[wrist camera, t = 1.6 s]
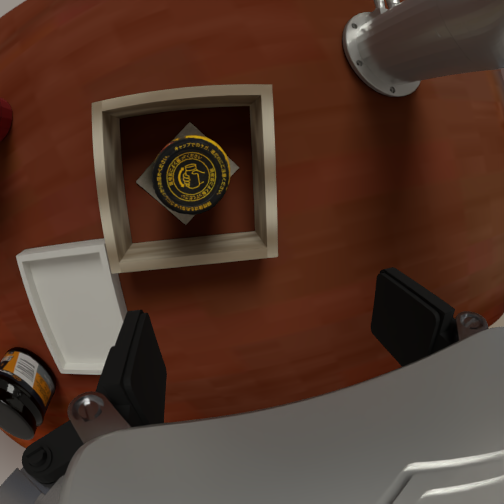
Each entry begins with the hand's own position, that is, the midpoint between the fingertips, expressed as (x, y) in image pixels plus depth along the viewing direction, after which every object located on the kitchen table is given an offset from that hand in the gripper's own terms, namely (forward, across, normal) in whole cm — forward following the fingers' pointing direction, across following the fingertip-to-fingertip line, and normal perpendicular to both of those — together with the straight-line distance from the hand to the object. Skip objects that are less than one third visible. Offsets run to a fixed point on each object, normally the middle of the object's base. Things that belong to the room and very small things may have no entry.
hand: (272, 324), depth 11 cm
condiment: (+22, +3, -5) cm, 23 cm away
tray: (+22, +20, +10) cm, 31 cm away
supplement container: (+22, +36, +20) cm, 46 cm away
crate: (+22, +3, -5) cm, 23 cm away
